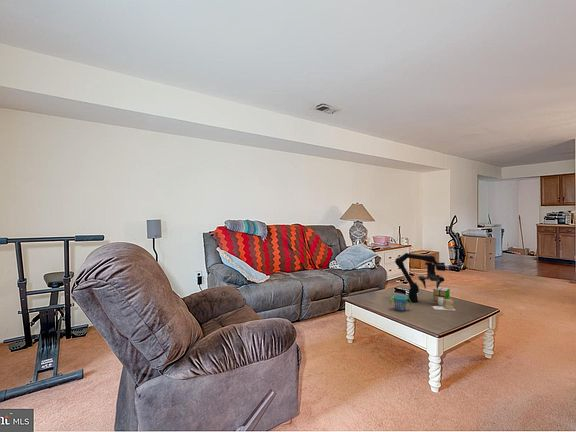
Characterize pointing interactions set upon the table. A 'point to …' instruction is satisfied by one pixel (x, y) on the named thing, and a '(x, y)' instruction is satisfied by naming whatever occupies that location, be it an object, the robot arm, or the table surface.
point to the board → (442, 308)
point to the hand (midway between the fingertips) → (431, 288)
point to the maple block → (448, 303)
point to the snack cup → (400, 302)
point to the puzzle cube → (441, 293)
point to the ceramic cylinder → (440, 301)
